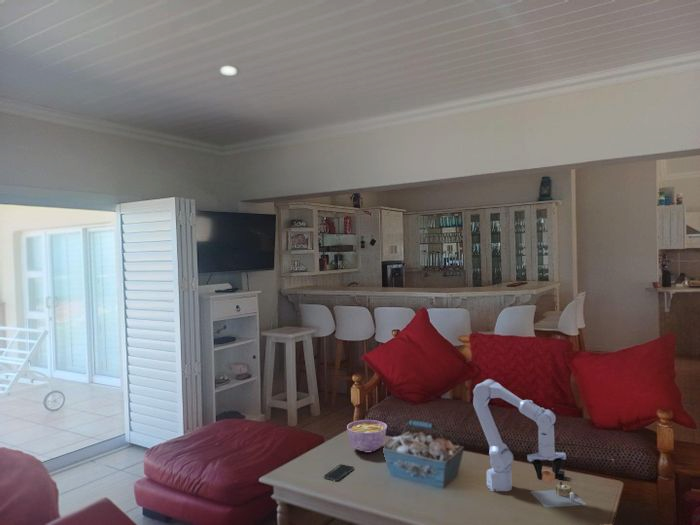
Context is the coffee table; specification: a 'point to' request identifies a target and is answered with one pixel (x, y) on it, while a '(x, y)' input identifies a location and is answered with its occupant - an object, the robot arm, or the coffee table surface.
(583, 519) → the coffee table surface
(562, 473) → the black piece
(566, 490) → the gear
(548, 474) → the gear
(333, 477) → the phone
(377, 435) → the bowl of food
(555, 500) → the gear board
